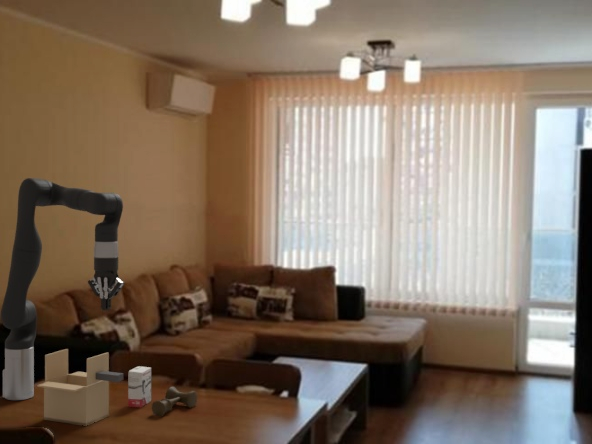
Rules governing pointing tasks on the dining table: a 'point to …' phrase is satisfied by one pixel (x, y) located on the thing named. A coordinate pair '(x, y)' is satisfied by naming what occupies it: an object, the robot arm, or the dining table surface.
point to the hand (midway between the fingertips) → (106, 310)
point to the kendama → (173, 401)
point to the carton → (72, 393)
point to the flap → (101, 370)
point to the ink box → (139, 386)
